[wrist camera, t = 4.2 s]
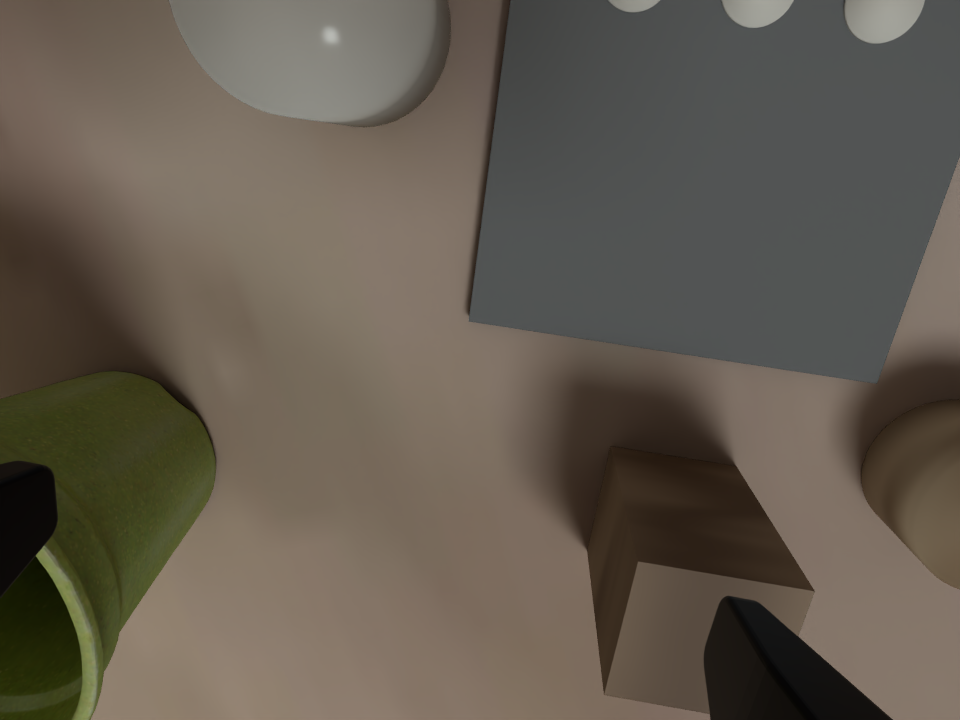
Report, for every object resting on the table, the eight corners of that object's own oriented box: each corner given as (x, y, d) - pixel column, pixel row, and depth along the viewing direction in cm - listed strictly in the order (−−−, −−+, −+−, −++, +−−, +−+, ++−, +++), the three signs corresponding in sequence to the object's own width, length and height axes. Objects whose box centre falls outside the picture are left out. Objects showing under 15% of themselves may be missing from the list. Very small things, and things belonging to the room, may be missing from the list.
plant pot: (-32, 325, 21) (-410, 436, 12) (237, 312, 20) (18, 424, 11) (47, 564, 24) (-218, 782, 15) (286, 564, 22) (139, 798, 14)
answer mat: (1040, -97, 15) (1057, -106, 14) (870, 379, 18) (878, 384, 18) (532, -157, 15) (532, -167, 15) (470, 318, 19) (468, 322, 18)
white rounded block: (461, -68, 16) (428, -163, 11) (440, 138, 17) (402, 132, 13) (271, -92, 16) (159, -194, 11) (267, 114, 18) (167, 100, 13)
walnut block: (736, 465, 20) (814, 591, 14) (705, 570, 21) (765, 723, 15) (610, 445, 20) (637, 561, 14) (587, 550, 21) (604, 695, 16)
